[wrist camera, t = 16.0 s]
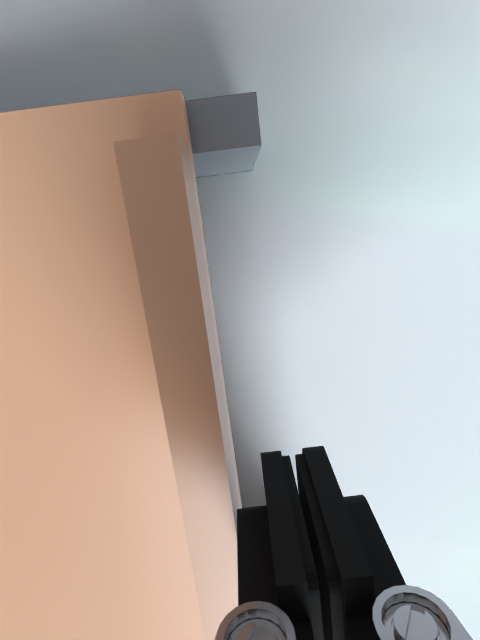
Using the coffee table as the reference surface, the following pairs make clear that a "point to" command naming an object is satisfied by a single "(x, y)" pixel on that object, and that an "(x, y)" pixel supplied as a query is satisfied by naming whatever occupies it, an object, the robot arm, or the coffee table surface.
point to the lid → (110, 381)
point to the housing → (224, 133)
